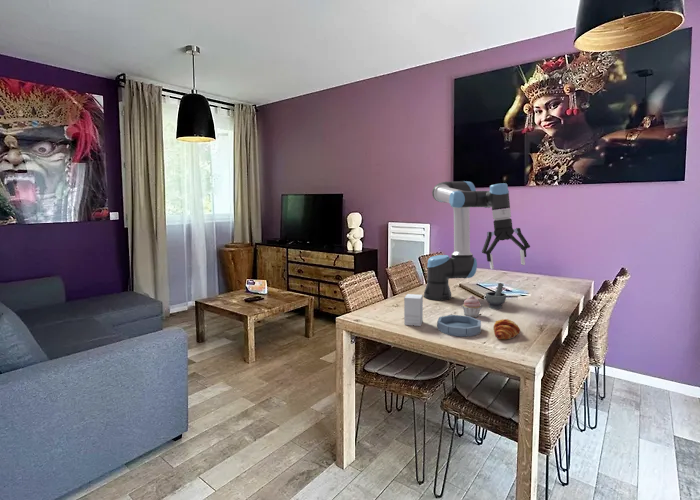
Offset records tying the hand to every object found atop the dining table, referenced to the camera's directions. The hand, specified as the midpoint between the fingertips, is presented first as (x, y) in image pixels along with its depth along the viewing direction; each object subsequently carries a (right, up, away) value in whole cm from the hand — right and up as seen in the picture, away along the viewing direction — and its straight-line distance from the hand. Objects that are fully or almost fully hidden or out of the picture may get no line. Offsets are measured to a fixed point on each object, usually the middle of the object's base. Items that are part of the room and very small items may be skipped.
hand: (507, 266), depth 176 cm
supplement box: (-41, -26, +3) cm, 49 cm away
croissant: (-5, -28, -12) cm, 31 cm away
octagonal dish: (-23, -27, -5) cm, 36 cm away
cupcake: (-12, -24, +14) cm, 30 cm away
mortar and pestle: (+5, -22, +28) cm, 36 cm away
